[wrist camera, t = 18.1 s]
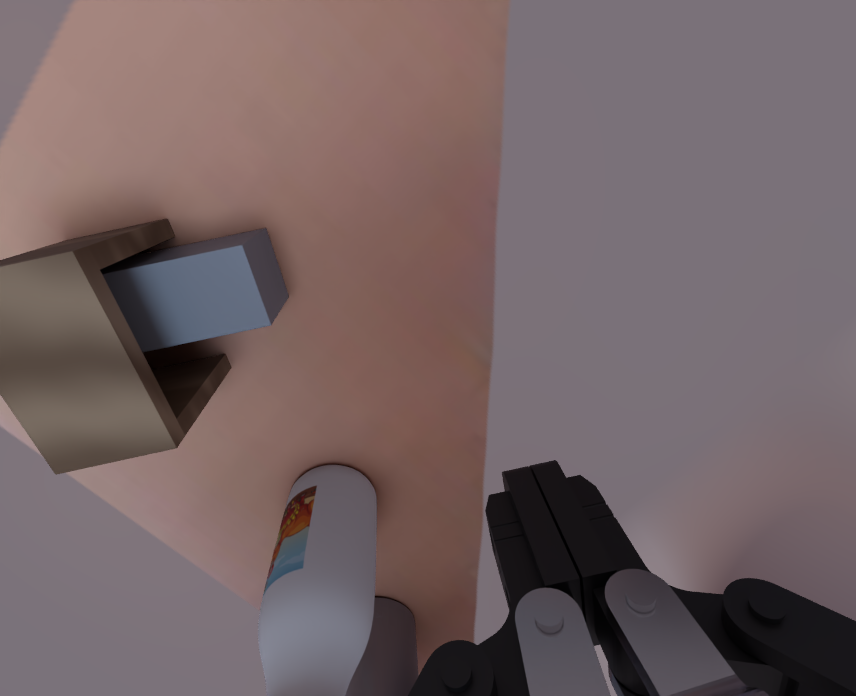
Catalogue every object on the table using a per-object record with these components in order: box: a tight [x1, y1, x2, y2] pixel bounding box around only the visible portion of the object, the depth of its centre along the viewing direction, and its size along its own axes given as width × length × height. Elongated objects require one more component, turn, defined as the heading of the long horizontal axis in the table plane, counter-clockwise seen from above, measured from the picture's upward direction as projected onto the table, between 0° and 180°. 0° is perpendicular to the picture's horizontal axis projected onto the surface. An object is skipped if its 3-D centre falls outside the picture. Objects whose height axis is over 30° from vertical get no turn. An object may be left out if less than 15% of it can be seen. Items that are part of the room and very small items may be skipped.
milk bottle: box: [258, 465, 377, 696], centre depth 32 cm, size 8×8×20 cm
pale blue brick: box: [100, 228, 289, 352], centre depth 30 cm, size 5×12×6 cm, turn 101°
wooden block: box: [0, 219, 231, 474], centre depth 28 cm, size 11×7×10 cm, turn 11°
